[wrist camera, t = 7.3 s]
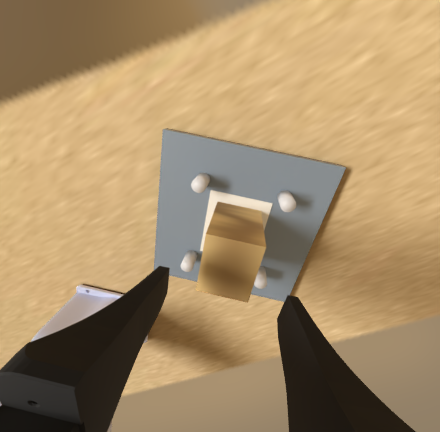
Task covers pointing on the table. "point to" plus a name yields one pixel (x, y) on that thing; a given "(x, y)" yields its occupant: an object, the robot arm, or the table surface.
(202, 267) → the ochre block
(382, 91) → the table surface
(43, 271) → the table surface
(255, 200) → the pin board
